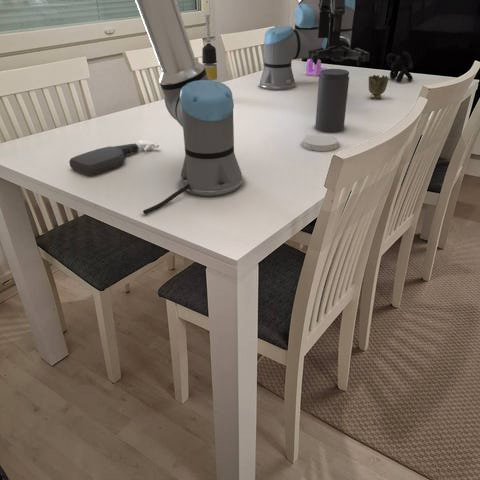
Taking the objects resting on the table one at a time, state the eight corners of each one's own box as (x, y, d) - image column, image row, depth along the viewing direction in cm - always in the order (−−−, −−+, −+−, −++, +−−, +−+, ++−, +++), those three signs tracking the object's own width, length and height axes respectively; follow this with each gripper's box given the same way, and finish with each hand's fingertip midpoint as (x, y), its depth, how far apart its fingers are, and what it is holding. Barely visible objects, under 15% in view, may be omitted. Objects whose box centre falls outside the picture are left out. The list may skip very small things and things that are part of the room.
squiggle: (400, 92, 202) (376, 71, 205) (417, 76, 202) (392, 56, 205) (405, 81, 191) (380, 59, 194) (423, 64, 191) (397, 42, 194)
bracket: (316, 75, 210) (317, 60, 207) (306, 74, 213) (306, 59, 209) (329, 71, 219) (330, 55, 215) (319, 69, 222) (320, 54, 218)
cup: (363, 99, 174) (366, 77, 170) (368, 94, 179) (371, 73, 175) (383, 101, 171) (386, 79, 167) (387, 96, 176) (390, 75, 172)
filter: (220, 99, 177) (217, 15, 161) (206, 100, 176) (202, 16, 160) (215, 96, 182) (212, 14, 166) (202, 97, 180) (197, 14, 164)
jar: (318, 133, 141) (323, 75, 132) (312, 124, 149) (316, 68, 140) (346, 132, 142) (353, 74, 132) (339, 123, 149) (345, 68, 140)
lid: (344, 144, 132) (344, 138, 131) (324, 153, 126) (325, 147, 125) (316, 137, 138) (316, 131, 137) (296, 145, 132) (296, 139, 131)
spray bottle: (67, 168, 120) (139, 144, 136) (91, 178, 114) (163, 151, 130) (65, 157, 118) (137, 134, 134) (89, 167, 112) (162, 142, 128)
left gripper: (366, -58, 95) (354, 49, 106) (339, -54, 116) (332, 34, 128) (331, -57, 95) (323, 49, 106) (311, -54, 116) (306, 35, 127)
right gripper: (373, 60, 159) (375, 74, 142) (303, 58, 164) (297, 71, 147) (377, 37, 155) (379, 49, 138) (305, 35, 160) (298, 46, 142)
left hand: (327, 41), depth 117 cm, fingers open, 13 cm apart
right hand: (337, 60), depth 142 cm, fingers open, 13 cm apart
